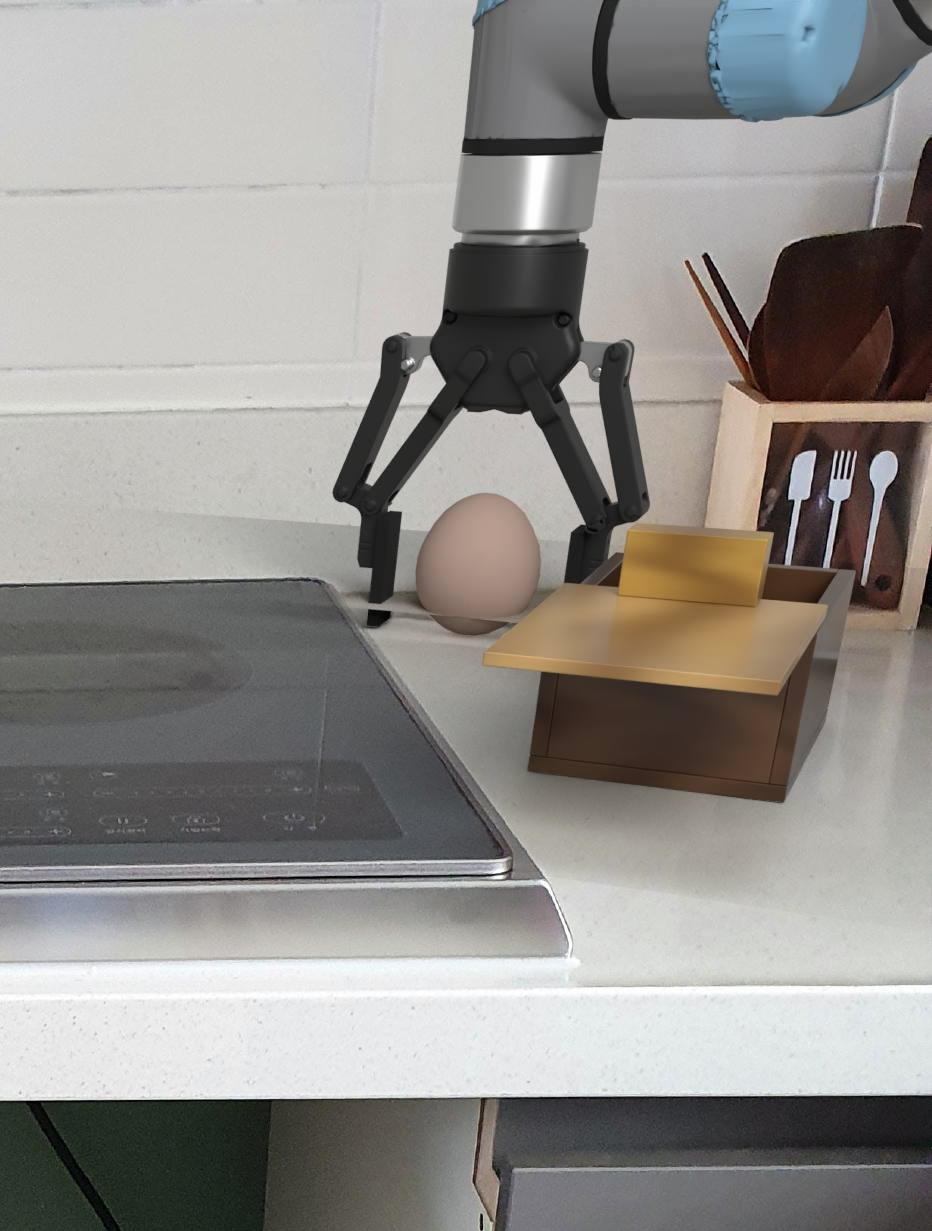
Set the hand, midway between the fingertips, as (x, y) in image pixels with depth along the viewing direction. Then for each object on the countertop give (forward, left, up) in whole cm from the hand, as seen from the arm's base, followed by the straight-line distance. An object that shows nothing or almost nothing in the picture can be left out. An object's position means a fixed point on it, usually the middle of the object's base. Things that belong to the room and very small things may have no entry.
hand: (470, 631), depth 128 cm
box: (-16, +20, 0) cm, 25 cm away
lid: (-16, +33, +8) cm, 37 cm away
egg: (0, 0, 0) cm, 0 cm away
